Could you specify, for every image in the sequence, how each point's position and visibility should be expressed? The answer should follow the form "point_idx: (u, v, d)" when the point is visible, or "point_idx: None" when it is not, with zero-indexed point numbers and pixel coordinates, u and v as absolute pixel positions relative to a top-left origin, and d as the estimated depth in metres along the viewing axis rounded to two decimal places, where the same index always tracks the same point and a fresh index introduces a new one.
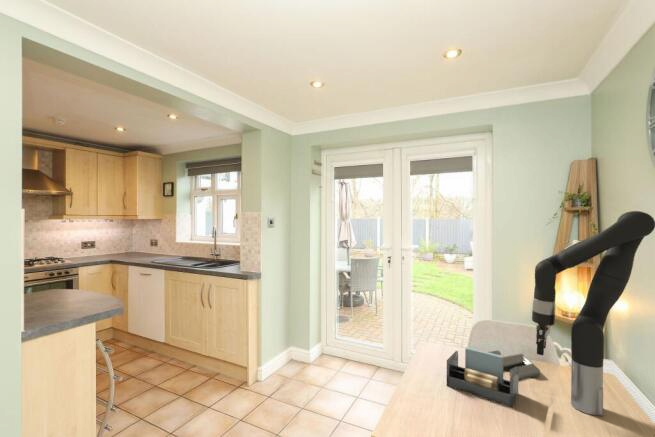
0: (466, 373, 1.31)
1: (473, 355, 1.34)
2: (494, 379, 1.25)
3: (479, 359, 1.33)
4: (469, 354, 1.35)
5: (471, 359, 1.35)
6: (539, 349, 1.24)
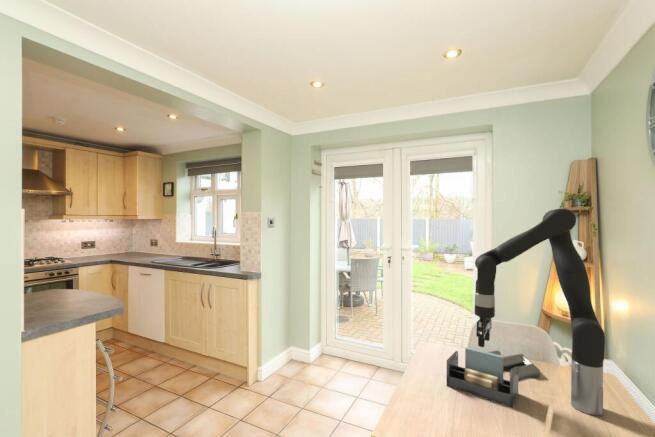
0: (466, 373, 1.31)
1: (473, 355, 1.34)
2: (494, 379, 1.25)
3: (479, 359, 1.33)
4: (469, 354, 1.35)
5: (471, 359, 1.35)
6: (480, 341, 1.29)
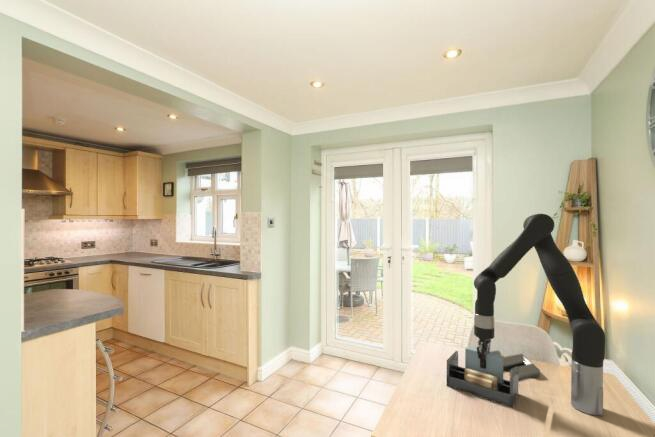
0: (466, 373, 1.31)
1: (473, 355, 1.34)
2: (494, 379, 1.25)
3: (479, 359, 1.33)
4: (469, 354, 1.35)
5: (471, 359, 1.35)
6: (481, 363, 1.31)
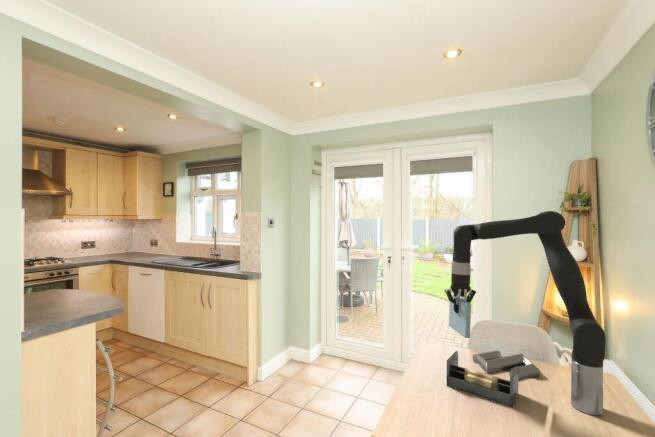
0: (466, 373, 1.31)
1: None
2: (494, 379, 1.25)
3: None
4: None
5: (452, 305, 1.42)
6: (454, 307, 1.38)
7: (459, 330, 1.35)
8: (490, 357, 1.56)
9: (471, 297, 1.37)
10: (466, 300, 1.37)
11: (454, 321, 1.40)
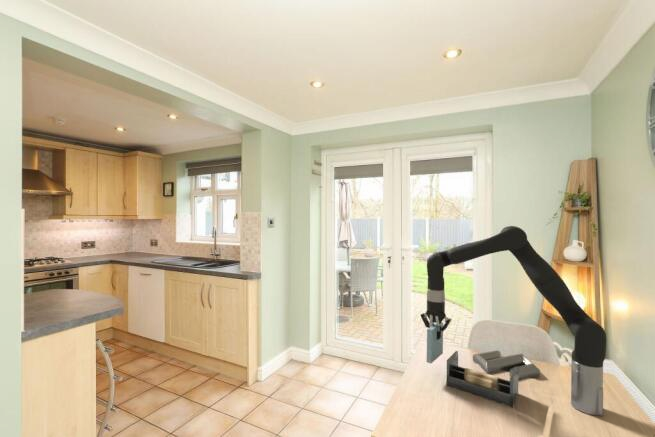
0: (466, 373, 1.31)
1: None
2: (494, 379, 1.25)
3: None
4: None
5: None
6: None
7: None
8: (490, 357, 1.56)
9: (444, 325, 1.38)
10: (441, 327, 1.40)
11: None
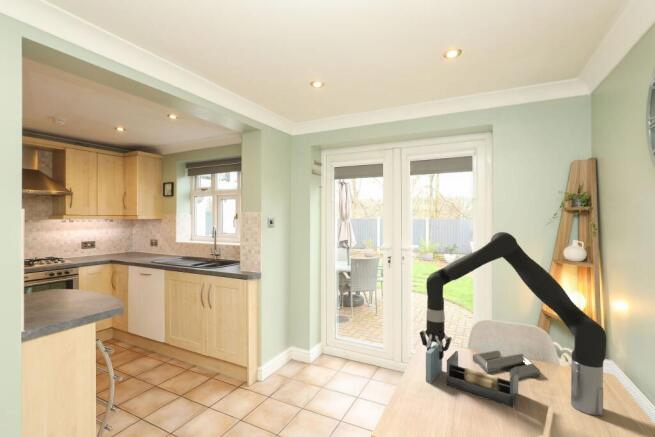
0: (466, 373, 1.31)
1: None
2: (494, 379, 1.25)
3: None
4: None
5: None
6: None
7: None
8: (490, 357, 1.56)
9: (446, 345, 1.38)
10: (443, 347, 1.39)
11: None
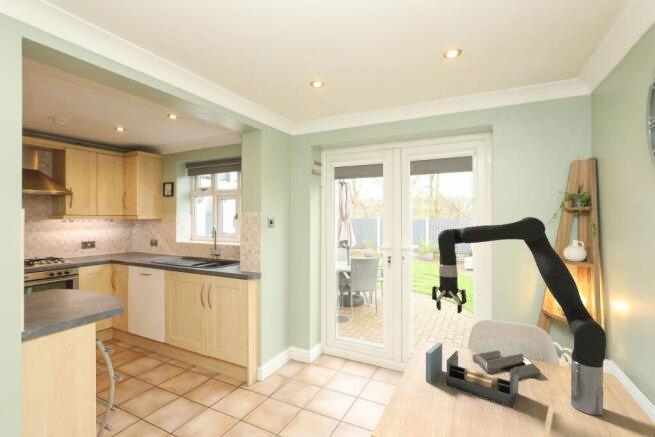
0: (466, 373, 1.31)
1: None
2: (494, 379, 1.25)
3: None
4: None
5: None
6: None
7: None
8: (490, 357, 1.56)
9: (462, 297, 1.37)
10: (462, 301, 1.38)
11: None
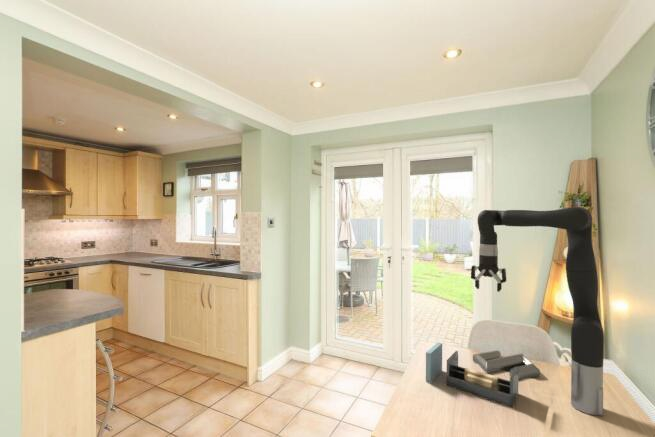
0: (466, 373, 1.31)
1: None
2: (494, 379, 1.25)
3: None
4: None
5: None
6: None
7: None
8: (490, 357, 1.56)
9: (503, 276, 1.41)
10: (502, 279, 1.42)
11: None
